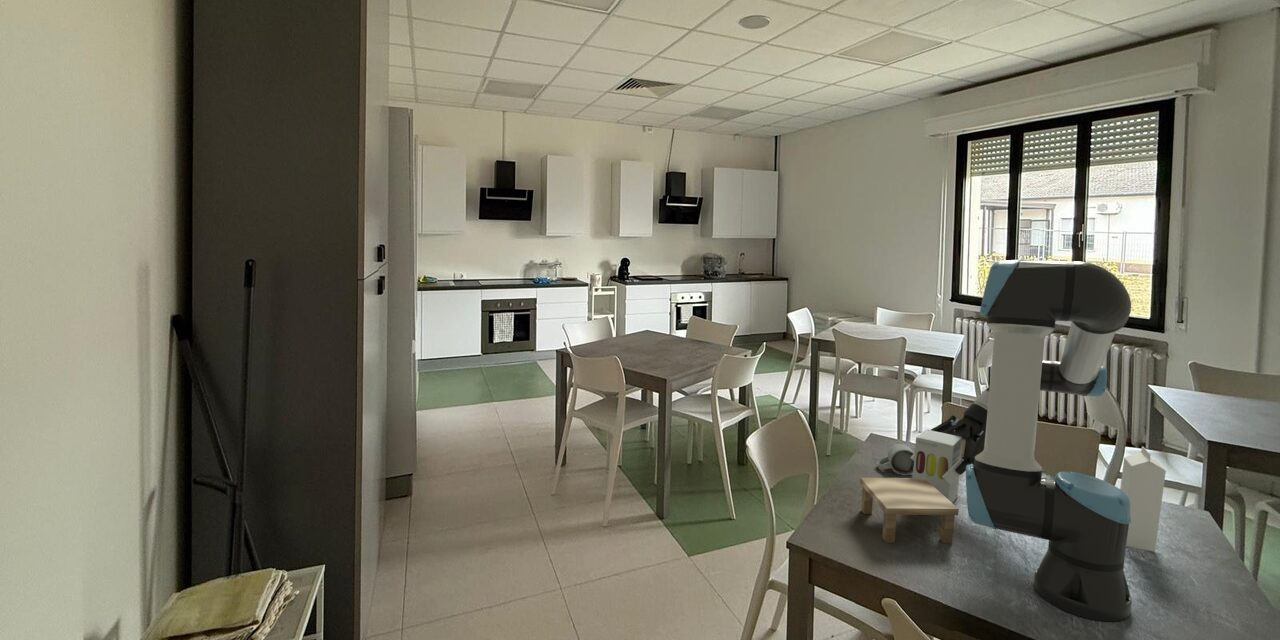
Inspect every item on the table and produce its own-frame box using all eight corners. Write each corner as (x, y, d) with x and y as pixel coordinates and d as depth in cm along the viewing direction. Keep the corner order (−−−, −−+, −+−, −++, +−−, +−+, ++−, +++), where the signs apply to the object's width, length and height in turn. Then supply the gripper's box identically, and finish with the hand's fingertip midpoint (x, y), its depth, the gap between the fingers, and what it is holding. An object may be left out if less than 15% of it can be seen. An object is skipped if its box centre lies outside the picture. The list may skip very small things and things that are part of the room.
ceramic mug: (911, 466, 181) (913, 441, 180) (917, 476, 173) (919, 451, 172) (874, 463, 183) (875, 439, 182) (878, 473, 175) (879, 448, 174)
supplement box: (909, 497, 159) (914, 436, 157) (920, 486, 166) (925, 428, 163) (948, 508, 153) (954, 445, 150) (958, 496, 160) (963, 436, 157)
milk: (1121, 546, 135) (1132, 452, 132) (1114, 534, 140) (1124, 443, 137) (1156, 552, 132) (1168, 456, 129) (1147, 539, 137) (1158, 447, 134)
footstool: (955, 544, 135) (958, 508, 134) (884, 543, 135) (886, 508, 134) (921, 510, 152) (924, 478, 151) (858, 509, 152) (860, 477, 151)
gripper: (1030, 437, 147) (970, 499, 147) (961, 408, 171) (909, 461, 171) (1013, 417, 145) (952, 480, 145) (946, 390, 169) (893, 445, 169)
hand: (929, 470), depth 158 cm, fingers closed on supplement box, 13 cm apart
